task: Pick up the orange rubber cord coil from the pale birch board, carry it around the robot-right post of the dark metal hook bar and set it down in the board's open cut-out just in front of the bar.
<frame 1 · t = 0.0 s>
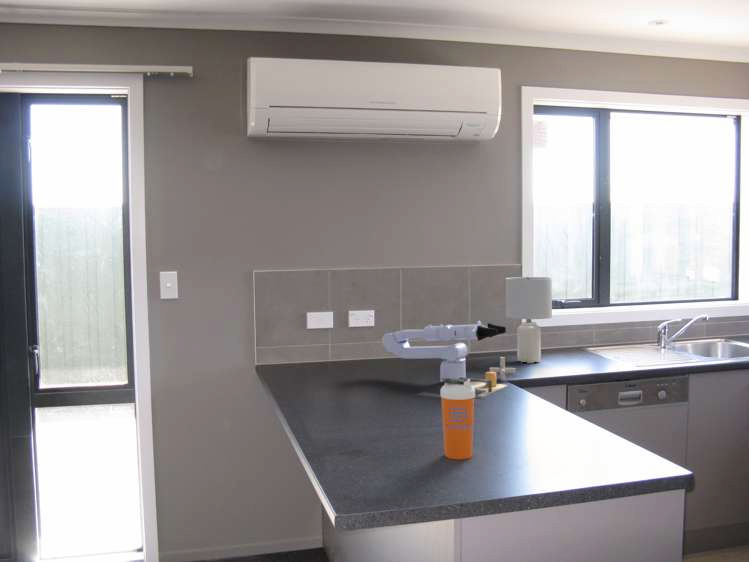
hand: (501, 330, 262), 22 cm above the worktop, tool horizontal, fingers open, 7 cm apart
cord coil: (491, 386, 262), point 1 cm above the worktop, touching shelf board
pipe connector: (502, 383, 274), on the worktop
lamp: (529, 362, 320), on the worktop
shaker bottle: (458, 456, 182), on the worktop
shelf board: (480, 391, 259), on the worktop
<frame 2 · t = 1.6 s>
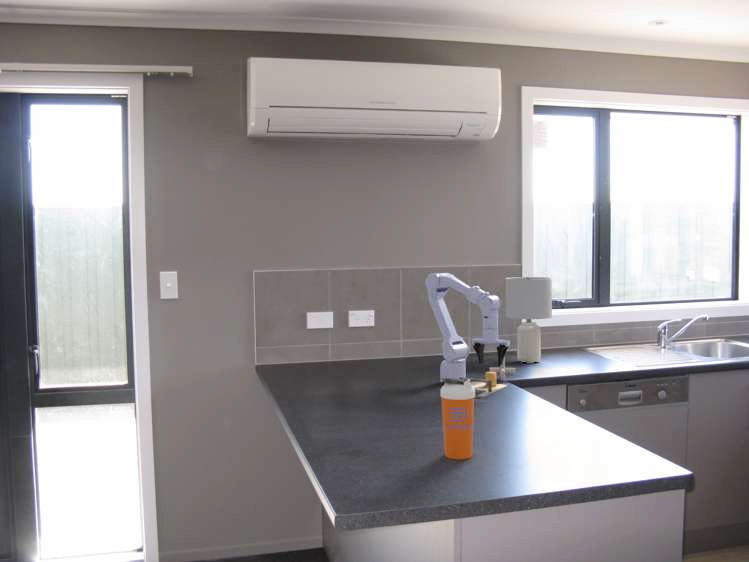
hand: (490, 364, 262), 9 cm above the worktop, tool pointing down, fingers open, 7 cm apart
nothing on the worktop moved.
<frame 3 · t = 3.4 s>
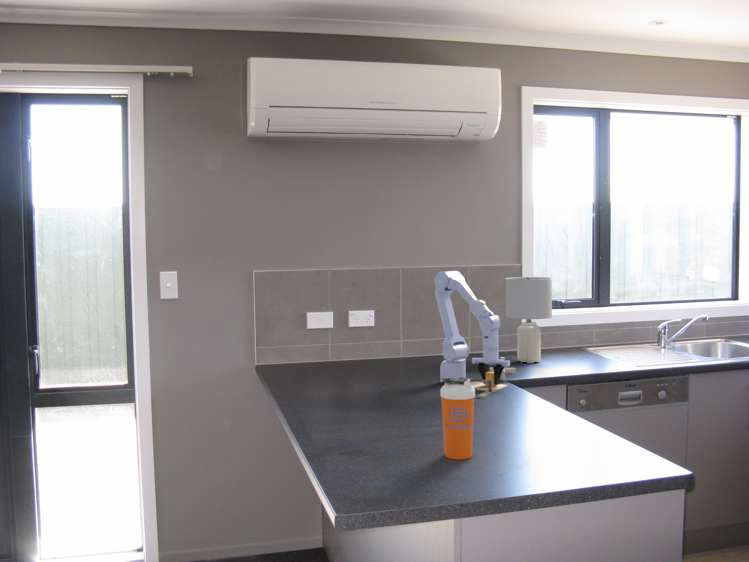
hand: (490, 384, 262), 2 cm above the worktop, tool pointing down, fingers closed on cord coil, 4 cm apart
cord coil: (491, 386, 262), point 1 cm above the worktop, touching gripper, shelf board
everything else where it was.
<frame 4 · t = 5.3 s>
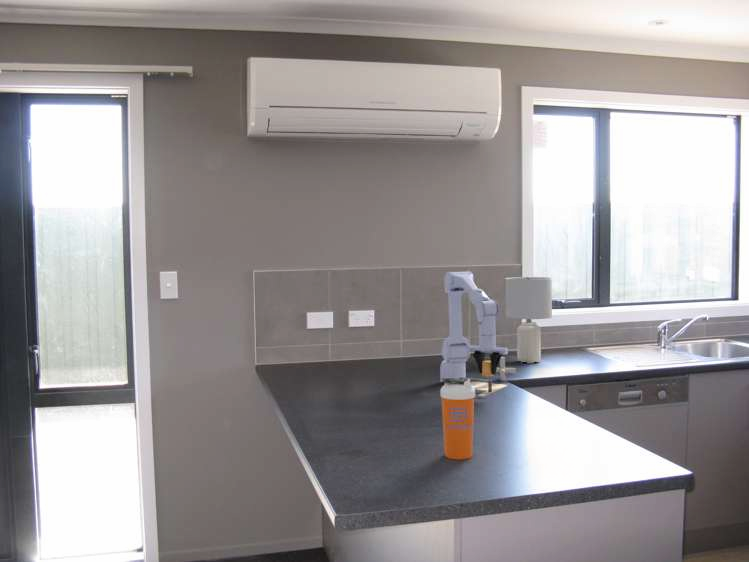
hand: (487, 373, 247), 9 cm above the worktop, tool pointing down, fingers closed on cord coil, 4 cm apart
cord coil: (487, 375, 247), point 8 cm above the worktop, touching gripper
everything else where it was.
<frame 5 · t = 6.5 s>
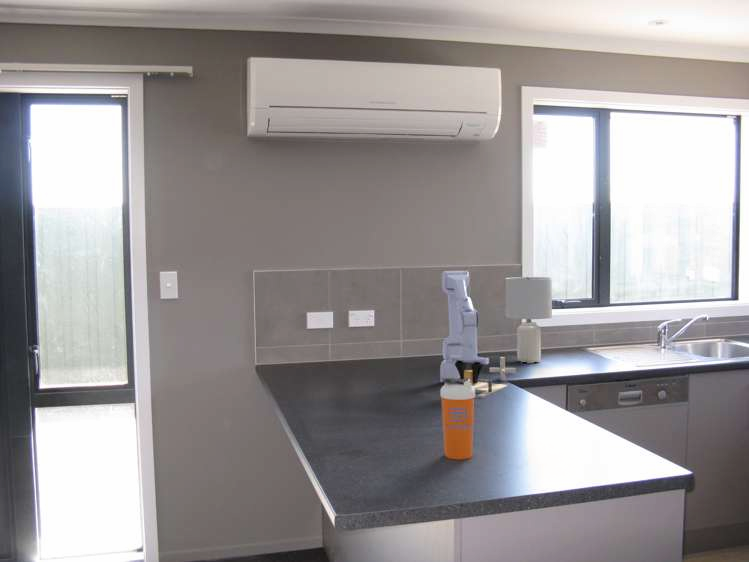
hand: (469, 382, 251), 5 cm above the worktop, tool pointing down, fingers closed on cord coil, 4 cm apart
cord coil: (469, 385, 252), point 4 cm above the worktop, touching gripper
everything else where it was.
when the fingers open (2 cm above the worktop, at t = 7.4 s): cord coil drops 2 cm, on the worktop.
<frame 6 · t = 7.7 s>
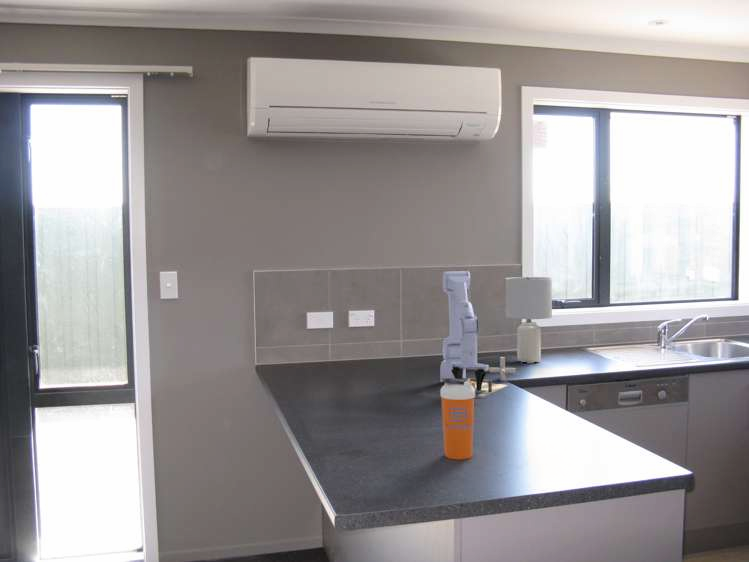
hand: (469, 389, 252), 2 cm above the worktop, tool pointing down, fingers open, 7 cm apart
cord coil: (469, 395, 252), on the worktop
everything else where it was.
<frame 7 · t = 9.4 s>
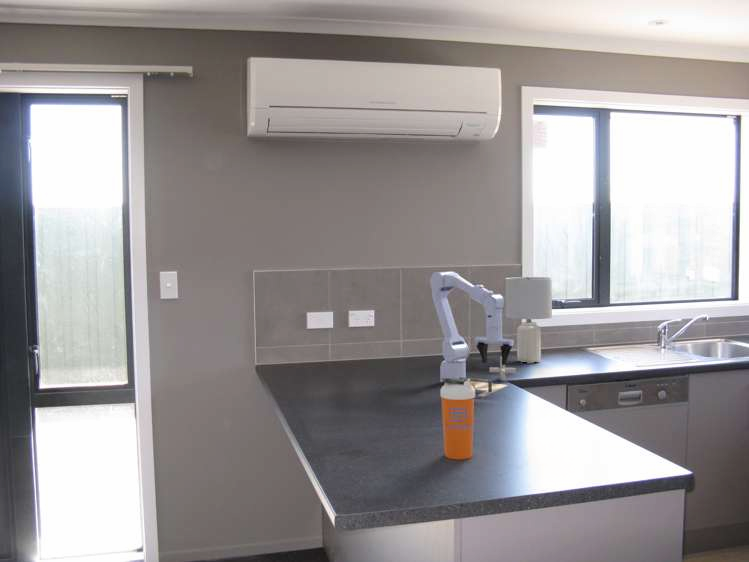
hand: (494, 363, 260), 10 cm above the worktop, tool pointing down, fingers open, 7 cm apart
nothing on the worktop moved.
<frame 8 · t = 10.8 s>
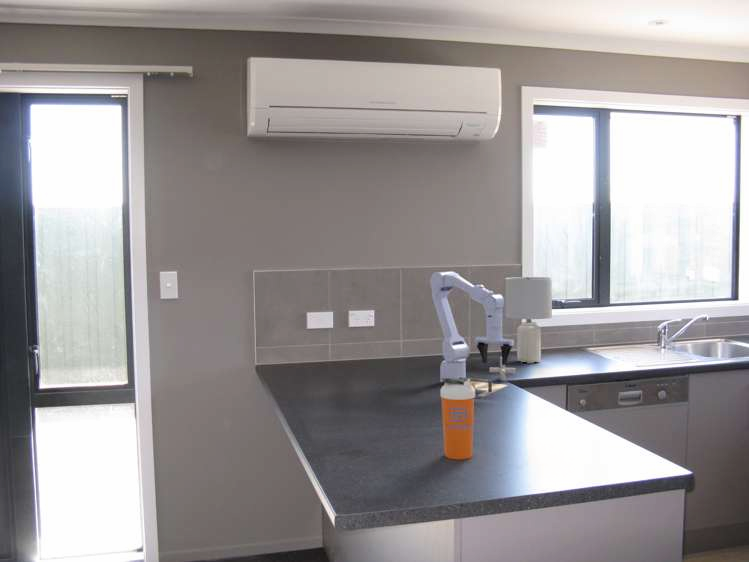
hand: (494, 363, 260), 10 cm above the worktop, tool pointing down, fingers open, 7 cm apart
nothing on the worktop moved.
at the end: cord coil inside the target area on the shelf board (0.1 cm from its centre), point 0.0 cm above the shelf board's base; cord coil tilted 0°; the gripper is holding nothing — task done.
